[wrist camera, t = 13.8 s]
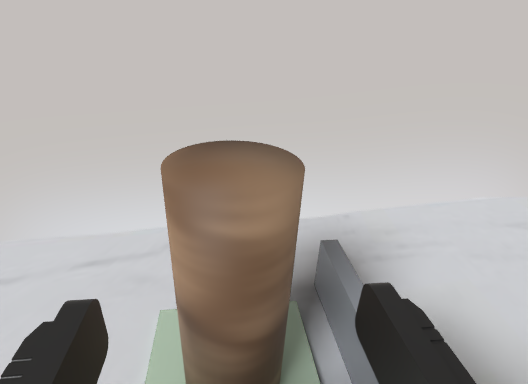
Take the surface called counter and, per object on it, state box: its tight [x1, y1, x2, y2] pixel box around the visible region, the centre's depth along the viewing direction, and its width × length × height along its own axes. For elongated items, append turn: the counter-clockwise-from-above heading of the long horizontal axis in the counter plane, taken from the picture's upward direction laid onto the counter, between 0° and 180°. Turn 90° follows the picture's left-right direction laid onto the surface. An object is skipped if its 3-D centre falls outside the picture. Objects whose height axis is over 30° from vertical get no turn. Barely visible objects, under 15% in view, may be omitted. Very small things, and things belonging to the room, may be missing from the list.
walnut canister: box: [161, 141, 305, 384], centre depth 14 cm, size 5×5×12 cm
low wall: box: [314, 240, 379, 384], centre depth 17 cm, size 1×13×4 cm, turn 7°
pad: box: [145, 301, 320, 384], centre depth 17 cm, size 9×9×1 cm
